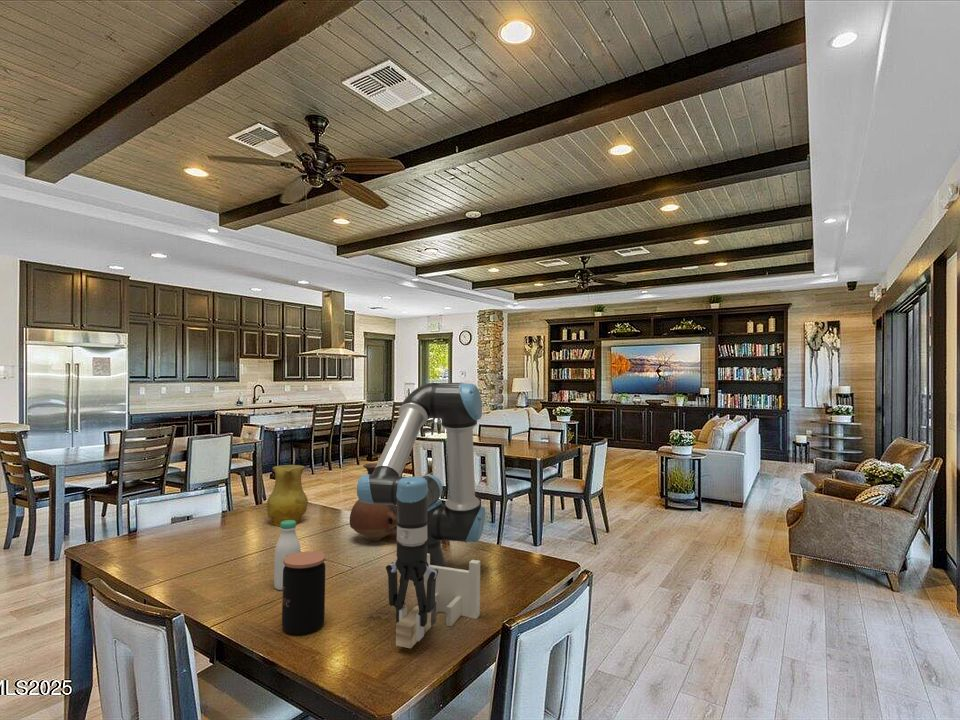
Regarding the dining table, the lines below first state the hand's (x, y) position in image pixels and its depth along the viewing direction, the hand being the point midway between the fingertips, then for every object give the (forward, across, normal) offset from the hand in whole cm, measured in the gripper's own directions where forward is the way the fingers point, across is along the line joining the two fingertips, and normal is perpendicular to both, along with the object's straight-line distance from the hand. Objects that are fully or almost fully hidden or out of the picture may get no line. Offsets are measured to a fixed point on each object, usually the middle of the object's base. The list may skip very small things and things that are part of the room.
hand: (411, 636), depth 132 cm
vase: (+4, -52, +68) cm, 86 cm away
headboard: (+3, +1, +17) cm, 17 cm away
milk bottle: (+3, -53, +18) cm, 56 cm away
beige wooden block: (+1, 0, +3) cm, 3 cm away
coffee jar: (+3, -31, -2) cm, 31 cm away
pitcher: (+5, -101, +76) cm, 127 cm away
